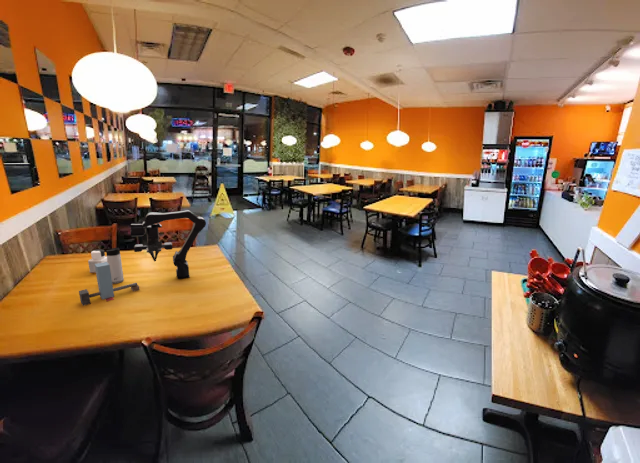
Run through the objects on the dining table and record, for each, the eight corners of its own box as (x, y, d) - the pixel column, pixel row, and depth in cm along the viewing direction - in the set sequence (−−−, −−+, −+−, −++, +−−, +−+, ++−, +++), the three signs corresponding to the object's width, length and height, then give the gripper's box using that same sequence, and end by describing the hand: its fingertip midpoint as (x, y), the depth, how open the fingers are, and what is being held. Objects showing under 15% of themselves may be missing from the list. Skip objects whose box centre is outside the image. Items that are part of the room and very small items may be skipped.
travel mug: (117, 284, 161) (112, 250, 156) (107, 282, 163) (102, 249, 157) (127, 279, 167) (122, 247, 162) (117, 278, 169) (112, 246, 163)
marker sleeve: (111, 293, 151) (106, 261, 146) (114, 296, 148) (109, 264, 143) (99, 296, 147) (94, 264, 143) (102, 299, 144) (97, 267, 139)
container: (98, 267, 182) (94, 248, 178) (111, 267, 183) (108, 248, 179) (89, 272, 174) (86, 252, 171) (103, 272, 175) (100, 252, 172)
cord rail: (135, 285, 161) (134, 275, 160) (141, 291, 155) (140, 281, 153) (79, 300, 143) (77, 289, 142) (84, 307, 137) (82, 296, 135)
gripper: (131, 240, 151) (134, 268, 155) (171, 237, 159) (173, 264, 163) (133, 234, 160) (136, 261, 164) (171, 232, 169) (172, 257, 173)
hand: (154, 261), depth 166 cm, fingers closed
